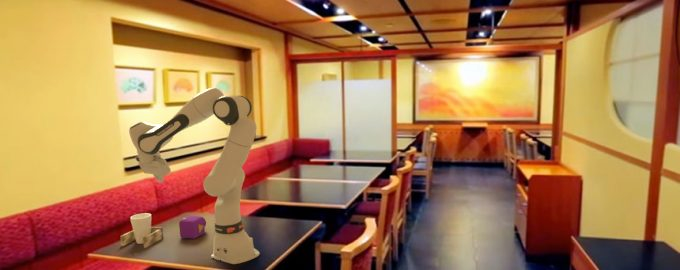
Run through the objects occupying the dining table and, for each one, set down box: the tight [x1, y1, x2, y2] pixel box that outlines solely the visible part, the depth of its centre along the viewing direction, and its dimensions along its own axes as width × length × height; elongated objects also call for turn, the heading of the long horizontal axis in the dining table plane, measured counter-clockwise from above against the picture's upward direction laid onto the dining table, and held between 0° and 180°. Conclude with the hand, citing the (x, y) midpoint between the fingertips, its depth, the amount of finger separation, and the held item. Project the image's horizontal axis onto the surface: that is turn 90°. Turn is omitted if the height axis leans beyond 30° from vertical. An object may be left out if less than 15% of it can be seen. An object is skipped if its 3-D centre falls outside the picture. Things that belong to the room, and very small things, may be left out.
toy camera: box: [178, 215, 207, 240], centre depth 215 cm, size 11×14×10 cm
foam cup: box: [130, 212, 152, 245], centre depth 208 cm, size 10×9×13 cm
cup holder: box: [119, 226, 164, 249], centre depth 208 cm, size 13×14×6 cm
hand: (161, 181), depth 200 cm, fingers closed
